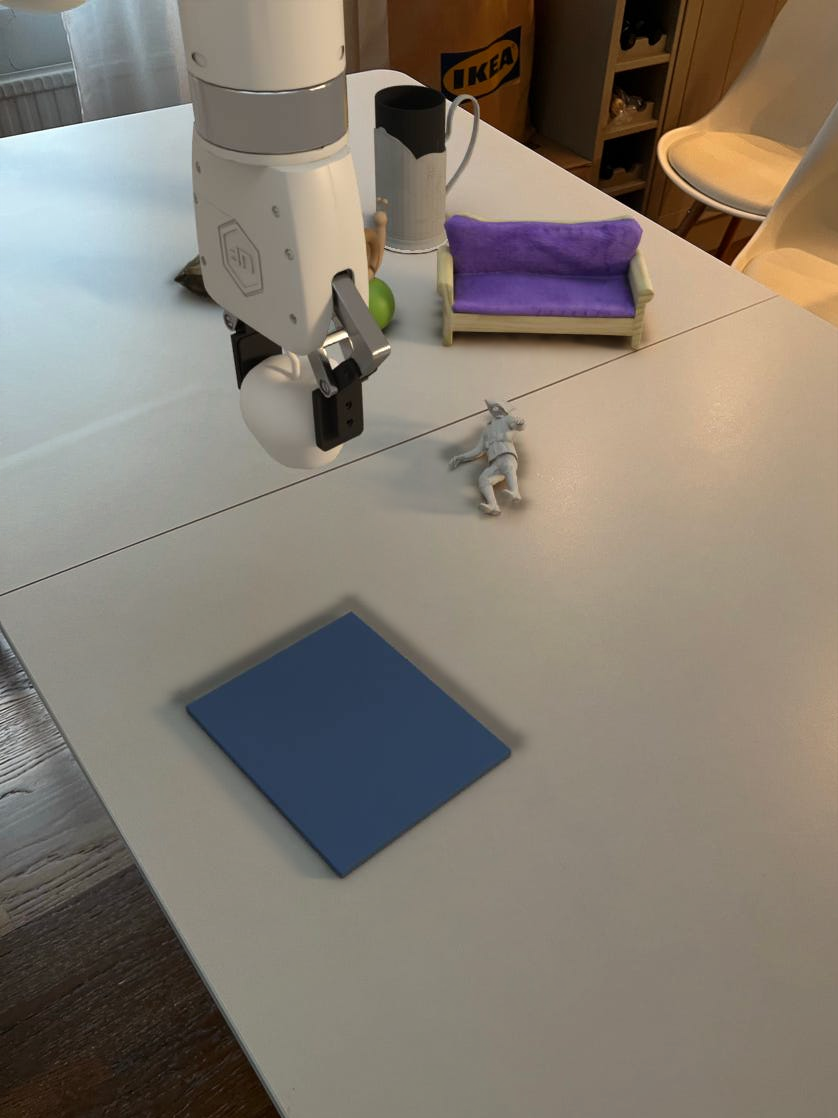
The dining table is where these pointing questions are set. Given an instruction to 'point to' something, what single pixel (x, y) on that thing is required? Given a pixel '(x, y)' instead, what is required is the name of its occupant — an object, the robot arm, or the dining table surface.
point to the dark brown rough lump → (193, 278)
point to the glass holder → (415, 163)
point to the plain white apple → (284, 410)
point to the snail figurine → (378, 289)
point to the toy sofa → (543, 276)
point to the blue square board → (347, 740)
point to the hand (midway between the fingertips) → (299, 410)
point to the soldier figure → (497, 454)
